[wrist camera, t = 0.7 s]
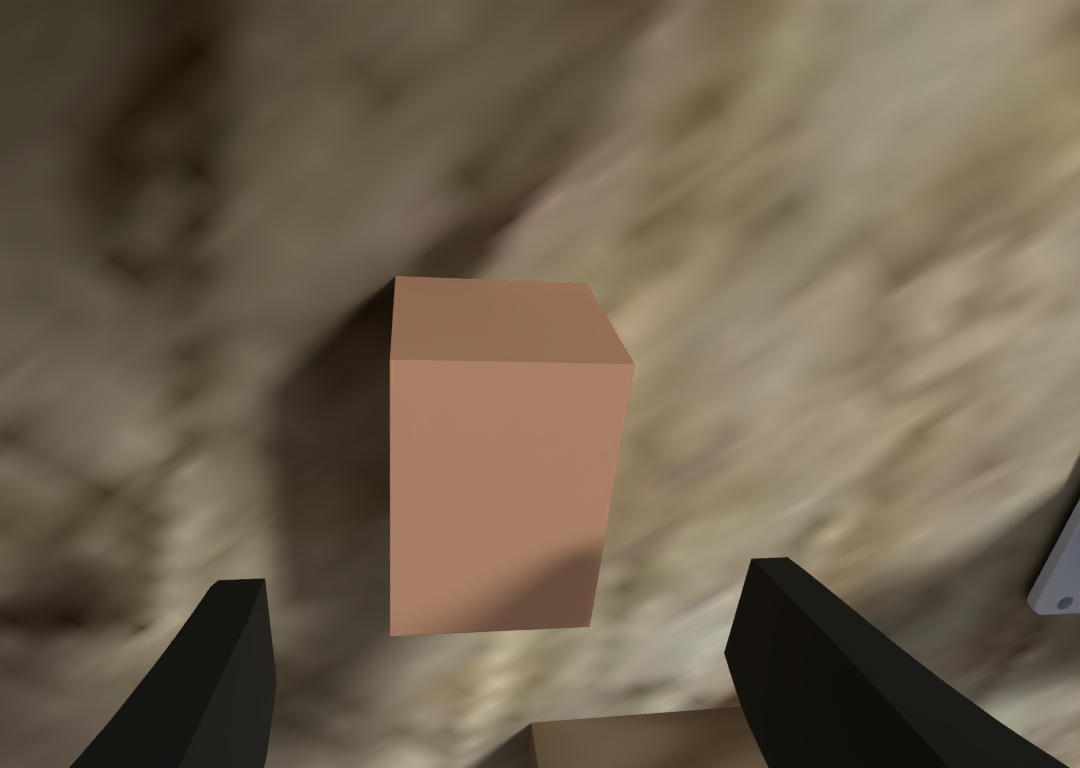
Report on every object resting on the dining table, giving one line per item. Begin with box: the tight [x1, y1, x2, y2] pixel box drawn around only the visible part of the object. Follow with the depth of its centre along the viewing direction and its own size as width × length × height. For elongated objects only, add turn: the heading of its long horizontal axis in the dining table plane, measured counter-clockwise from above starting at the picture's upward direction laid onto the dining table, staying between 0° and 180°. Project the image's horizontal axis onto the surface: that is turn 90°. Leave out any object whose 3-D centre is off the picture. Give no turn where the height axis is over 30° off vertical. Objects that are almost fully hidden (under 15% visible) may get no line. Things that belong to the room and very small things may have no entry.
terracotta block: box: [390, 276, 635, 636], centre depth 15 cm, size 4×6×4 cm, turn 175°
